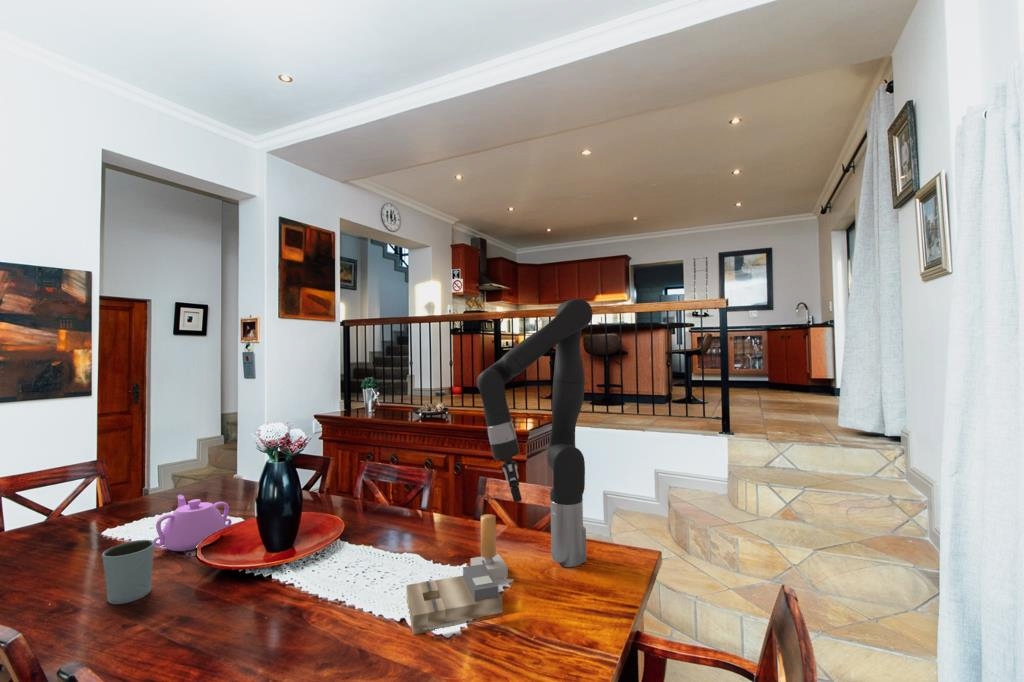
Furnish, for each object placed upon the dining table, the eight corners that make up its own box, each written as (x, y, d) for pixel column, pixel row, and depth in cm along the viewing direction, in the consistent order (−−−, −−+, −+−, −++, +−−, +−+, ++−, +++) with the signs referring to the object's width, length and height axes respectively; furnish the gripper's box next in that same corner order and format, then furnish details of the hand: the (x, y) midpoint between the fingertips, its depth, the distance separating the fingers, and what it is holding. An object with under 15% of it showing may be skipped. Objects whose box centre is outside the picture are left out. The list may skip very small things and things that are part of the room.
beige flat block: (486, 587, 119) (486, 571, 119) (502, 616, 106) (502, 598, 106) (406, 601, 113) (406, 584, 113) (413, 634, 99) (413, 615, 100)
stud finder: (484, 573, 118) (484, 563, 118) (498, 597, 107) (497, 585, 107) (463, 577, 116) (463, 566, 116) (474, 601, 105) (474, 589, 105)
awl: (493, 569, 127) (493, 513, 127) (498, 575, 123) (497, 518, 124) (479, 571, 126) (478, 515, 126) (483, 578, 122) (482, 520, 122)
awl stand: (498, 568, 129) (498, 553, 130) (507, 581, 122) (507, 566, 122) (470, 573, 127) (470, 558, 127) (477, 587, 119) (477, 571, 119)
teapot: (214, 524, 166) (214, 485, 167) (242, 538, 154) (242, 496, 154) (137, 546, 148) (138, 502, 149) (163, 563, 136) (163, 515, 136)
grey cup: (163, 589, 121) (163, 542, 121) (119, 609, 111) (119, 558, 111) (136, 583, 124) (137, 537, 124) (91, 602, 114) (92, 553, 115)
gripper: (518, 439, 123) (532, 500, 122) (514, 433, 137) (527, 488, 136) (490, 446, 122) (504, 507, 121) (489, 440, 136) (502, 495, 135)
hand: (516, 497), depth 128 cm, fingers open, 8 cm apart
